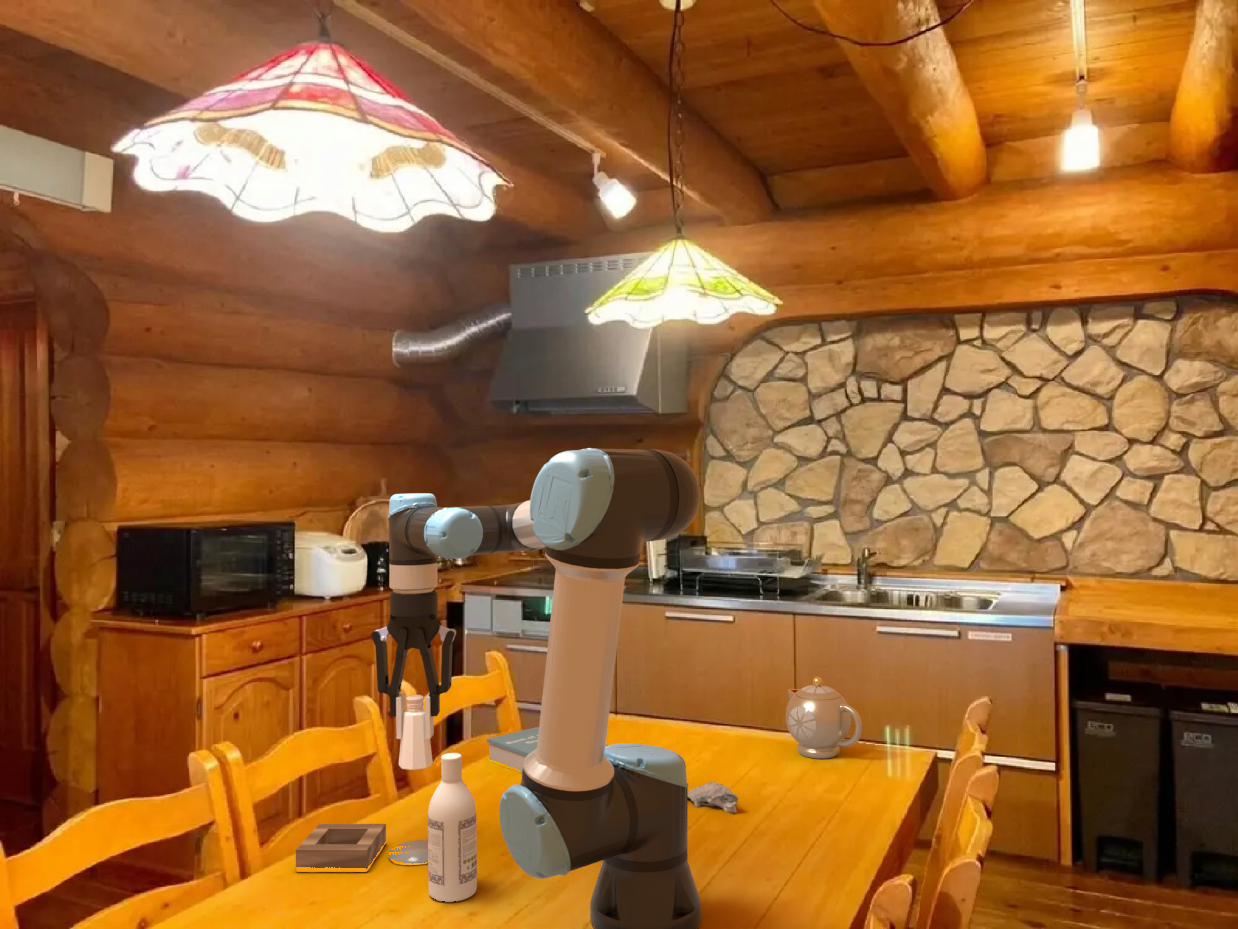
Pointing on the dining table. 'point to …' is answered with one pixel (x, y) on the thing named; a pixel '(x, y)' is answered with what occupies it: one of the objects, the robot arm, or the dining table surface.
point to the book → (513, 747)
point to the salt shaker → (414, 737)
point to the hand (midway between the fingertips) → (415, 736)
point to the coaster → (411, 852)
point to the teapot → (820, 720)
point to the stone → (714, 796)
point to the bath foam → (452, 835)
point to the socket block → (341, 846)
